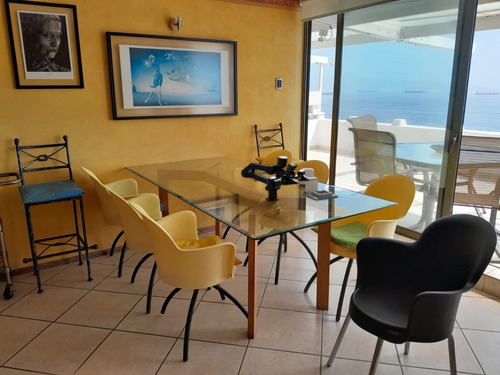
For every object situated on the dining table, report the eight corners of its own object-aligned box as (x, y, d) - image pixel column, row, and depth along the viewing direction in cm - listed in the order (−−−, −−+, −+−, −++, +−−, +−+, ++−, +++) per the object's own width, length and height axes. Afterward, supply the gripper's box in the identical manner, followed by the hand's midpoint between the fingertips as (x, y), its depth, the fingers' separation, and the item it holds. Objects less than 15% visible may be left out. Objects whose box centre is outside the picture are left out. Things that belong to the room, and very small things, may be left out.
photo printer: (300, 184, 279) (301, 168, 276) (299, 183, 283) (300, 167, 280) (314, 184, 279) (315, 168, 276) (313, 183, 283) (314, 167, 280)
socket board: (305, 195, 249) (305, 191, 248) (326, 192, 257) (327, 188, 256) (315, 200, 238) (316, 195, 238) (338, 197, 246) (338, 192, 245)
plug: (305, 191, 260) (305, 177, 257) (313, 190, 263) (314, 176, 260) (309, 193, 256) (310, 179, 253) (317, 192, 259) (318, 178, 256)
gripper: (274, 164, 220) (294, 171, 209) (296, 159, 232) (315, 166, 221) (273, 181, 224) (292, 189, 213) (294, 176, 236) (313, 183, 225)
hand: (303, 181), depth 218 cm, fingers open, 9 cm apart
